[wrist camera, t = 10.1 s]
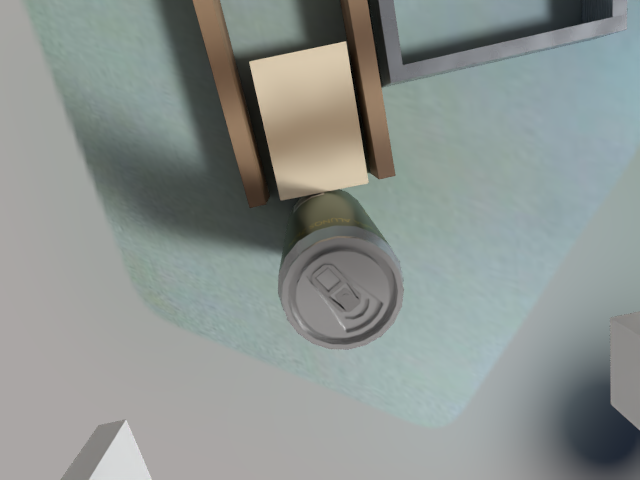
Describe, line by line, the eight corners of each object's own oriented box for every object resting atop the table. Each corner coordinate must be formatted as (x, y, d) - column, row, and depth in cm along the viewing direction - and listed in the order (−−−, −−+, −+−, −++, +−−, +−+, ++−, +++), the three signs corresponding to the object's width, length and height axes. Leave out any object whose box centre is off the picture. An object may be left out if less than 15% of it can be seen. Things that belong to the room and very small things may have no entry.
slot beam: (182, -75, 22) (163, -105, 19) (338, -113, 22) (343, -149, 19) (255, 199, 26) (249, 208, 24) (385, 170, 26) (395, 175, 23)
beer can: (272, 221, 27) (247, 292, 15) (330, 169, 26) (350, 202, 15) (323, 275, 28) (336, 377, 17) (380, 226, 27) (435, 299, 16)
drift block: (255, 69, 25) (249, 61, 22) (341, 51, 24) (345, 41, 22) (283, 192, 27) (280, 200, 24) (361, 177, 27) (368, 183, 24)
